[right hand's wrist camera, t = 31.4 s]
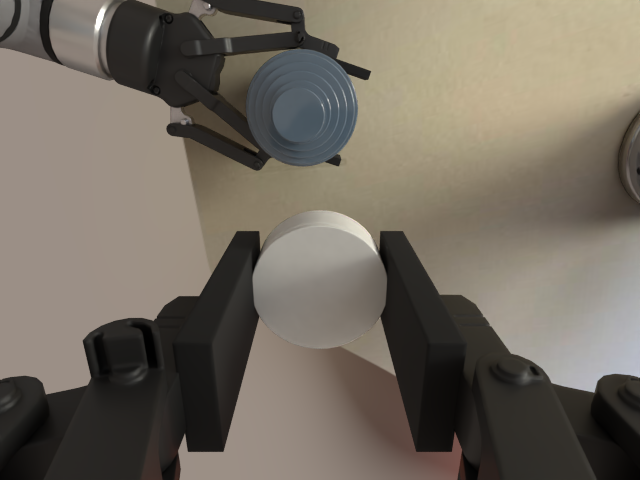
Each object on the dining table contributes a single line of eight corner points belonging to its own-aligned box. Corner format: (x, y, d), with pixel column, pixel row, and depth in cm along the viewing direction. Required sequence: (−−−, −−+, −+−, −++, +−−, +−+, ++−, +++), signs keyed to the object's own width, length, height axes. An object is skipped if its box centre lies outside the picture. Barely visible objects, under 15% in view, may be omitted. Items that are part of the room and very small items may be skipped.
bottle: (260, 90, 46) (201, 93, 23) (318, 49, 45) (319, 7, 21) (298, 149, 48) (280, 207, 25) (354, 112, 47) (392, 137, 24)
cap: (369, 327, 15) (375, 355, 13) (254, 314, 15) (246, 341, 13) (391, 217, 14) (400, 235, 12) (264, 202, 13) (256, 217, 12)
